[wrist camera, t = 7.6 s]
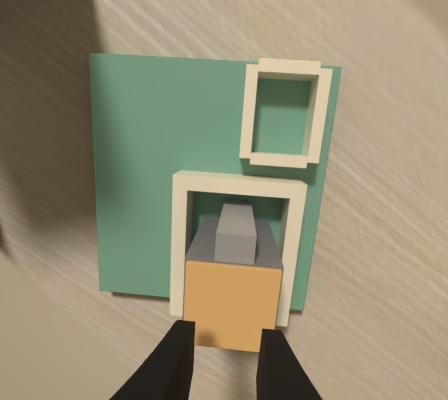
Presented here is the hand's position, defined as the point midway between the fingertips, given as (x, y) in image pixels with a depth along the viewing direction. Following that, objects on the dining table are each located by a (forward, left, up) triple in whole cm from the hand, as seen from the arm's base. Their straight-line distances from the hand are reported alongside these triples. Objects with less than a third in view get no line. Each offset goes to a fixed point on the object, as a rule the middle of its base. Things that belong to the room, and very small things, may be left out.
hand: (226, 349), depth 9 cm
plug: (0, 0, -8) cm, 8 cm away
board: (-2, +4, -9) cm, 10 cm away
